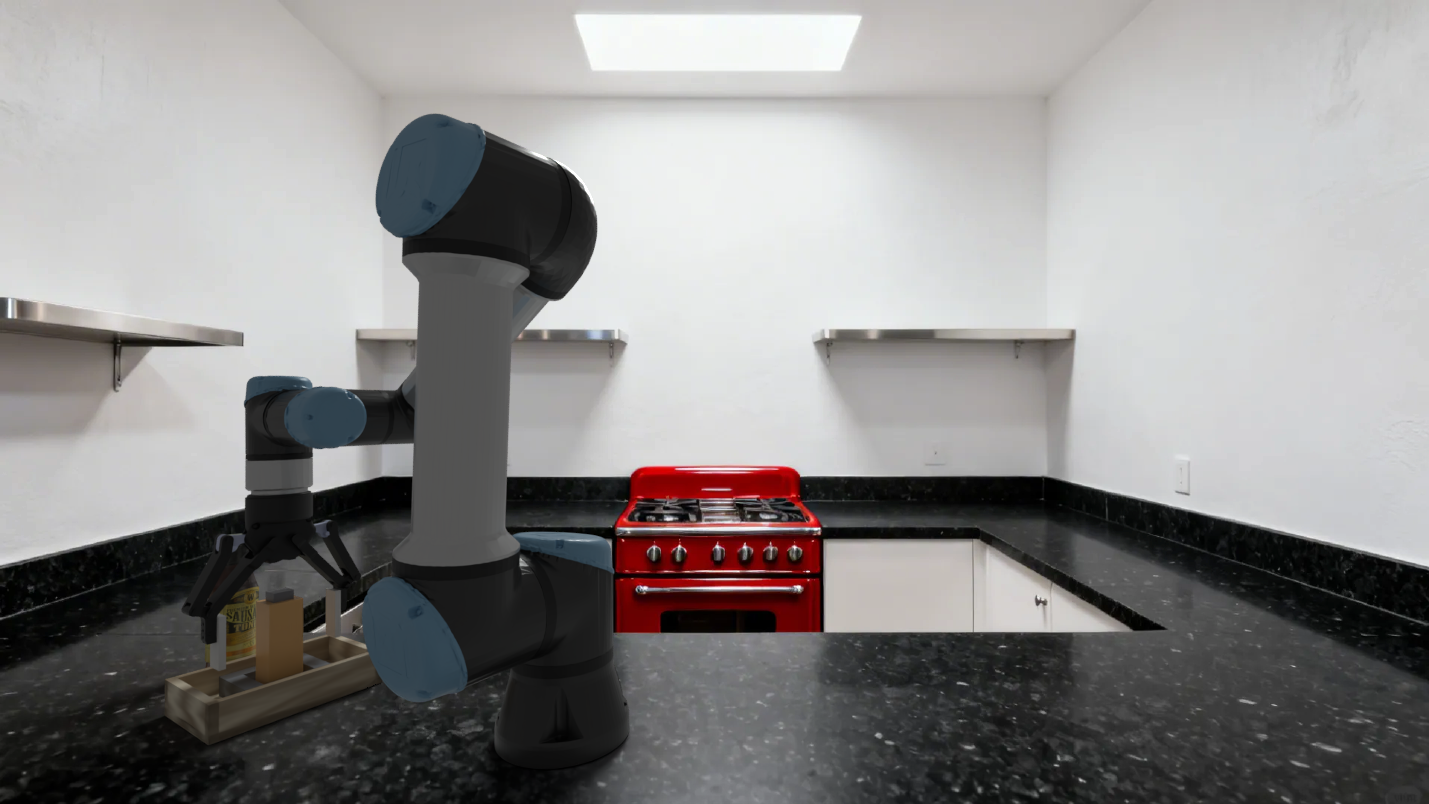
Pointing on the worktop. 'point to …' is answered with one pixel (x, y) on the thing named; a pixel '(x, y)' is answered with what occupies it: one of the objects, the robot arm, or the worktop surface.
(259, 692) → the walled box
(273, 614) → the tan tall block
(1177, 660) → the worktop surface
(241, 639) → the sauce bottle
